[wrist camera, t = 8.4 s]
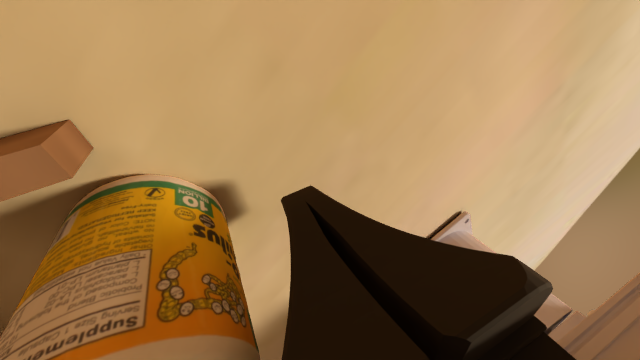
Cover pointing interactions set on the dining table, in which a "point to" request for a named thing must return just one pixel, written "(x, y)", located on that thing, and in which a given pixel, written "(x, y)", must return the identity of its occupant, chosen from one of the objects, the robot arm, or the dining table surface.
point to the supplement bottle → (136, 281)
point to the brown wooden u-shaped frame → (40, 158)
